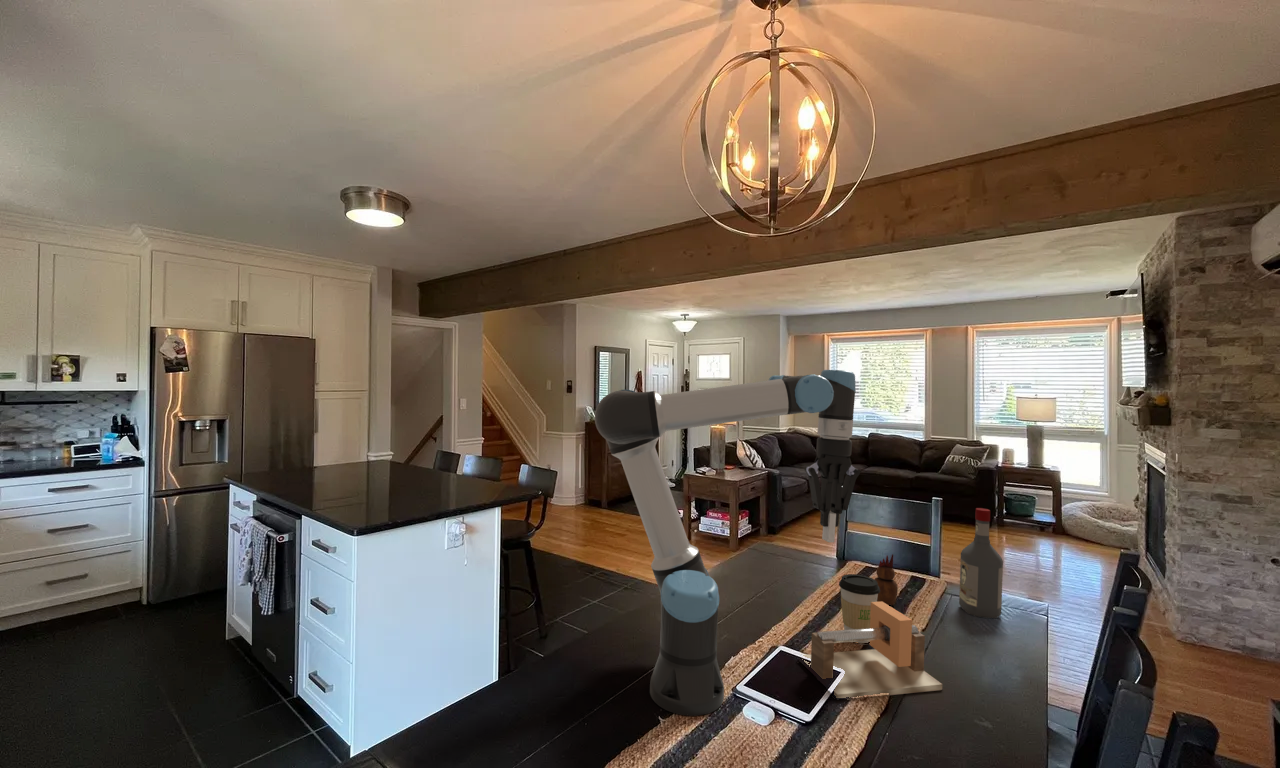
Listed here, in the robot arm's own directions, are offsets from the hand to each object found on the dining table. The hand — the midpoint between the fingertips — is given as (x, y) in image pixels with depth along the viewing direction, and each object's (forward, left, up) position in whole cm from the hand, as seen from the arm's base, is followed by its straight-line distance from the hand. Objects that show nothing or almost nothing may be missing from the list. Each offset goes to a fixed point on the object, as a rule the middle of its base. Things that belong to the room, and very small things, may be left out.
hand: (828, 540), depth 122 cm
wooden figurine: (+39, +31, -29) cm, 57 cm away
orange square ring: (+14, -4, -25) cm, 29 cm away
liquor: (+64, +22, -29) cm, 73 cm away
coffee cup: (+17, +12, -29) cm, 36 cm away
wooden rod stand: (+8, -4, -29) cm, 30 cm away
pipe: (+8, -4, -22) cm, 24 cm away
